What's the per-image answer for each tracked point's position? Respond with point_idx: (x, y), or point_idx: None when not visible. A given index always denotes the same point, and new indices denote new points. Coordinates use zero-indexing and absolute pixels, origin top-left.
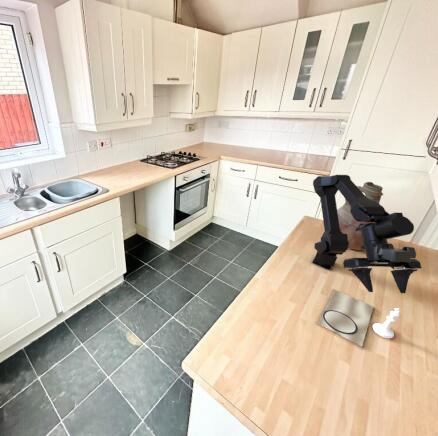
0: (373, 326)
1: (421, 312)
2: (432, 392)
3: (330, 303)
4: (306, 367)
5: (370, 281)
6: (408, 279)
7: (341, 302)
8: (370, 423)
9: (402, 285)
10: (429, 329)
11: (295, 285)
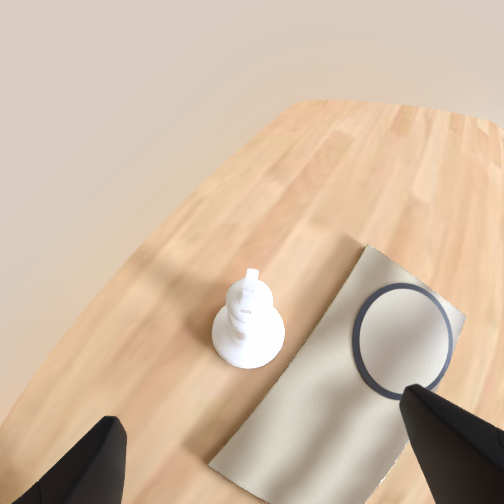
0: (280, 345)
1: (32, 428)
2: (242, 148)
3: (403, 440)
4: (479, 185)
5: (475, 433)
6: (20, 497)
7: (352, 464)
8: (393, 110)
9: (97, 472)
10: (59, 355)
11: None
